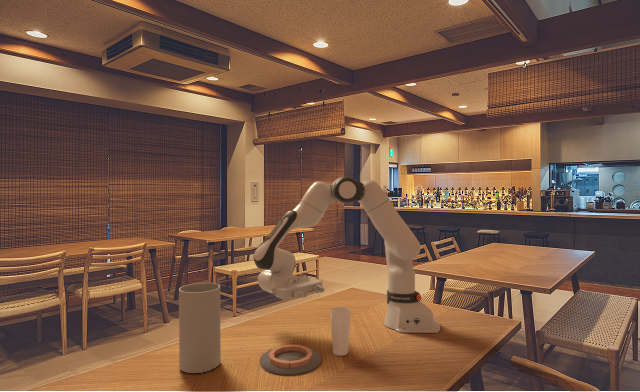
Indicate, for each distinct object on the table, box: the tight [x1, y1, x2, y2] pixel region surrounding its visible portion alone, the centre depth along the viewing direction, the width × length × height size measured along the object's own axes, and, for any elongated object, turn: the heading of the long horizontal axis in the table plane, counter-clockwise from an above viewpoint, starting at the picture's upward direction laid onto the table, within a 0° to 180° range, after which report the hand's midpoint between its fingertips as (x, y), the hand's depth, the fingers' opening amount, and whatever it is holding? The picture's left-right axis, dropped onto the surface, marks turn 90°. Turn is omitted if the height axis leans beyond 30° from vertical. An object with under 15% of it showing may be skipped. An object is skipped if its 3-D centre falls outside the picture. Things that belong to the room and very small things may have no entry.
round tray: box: [259, 344, 322, 376], centre depth 122 cm, size 20×20×2 cm
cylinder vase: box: [178, 282, 222, 374], centre depth 118 cm, size 12×12×25 cm
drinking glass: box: [329, 306, 351, 357], centre depth 127 cm, size 7×7×15 cm
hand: (314, 292), depth 135 cm, fingers open, 8 cm apart
